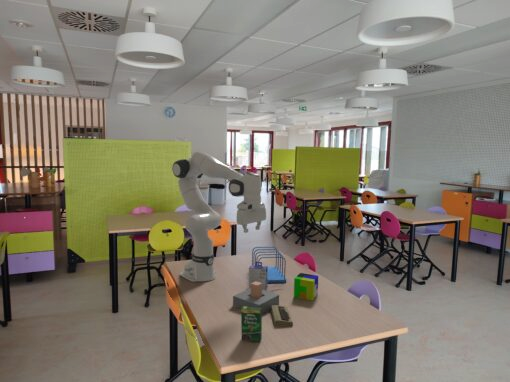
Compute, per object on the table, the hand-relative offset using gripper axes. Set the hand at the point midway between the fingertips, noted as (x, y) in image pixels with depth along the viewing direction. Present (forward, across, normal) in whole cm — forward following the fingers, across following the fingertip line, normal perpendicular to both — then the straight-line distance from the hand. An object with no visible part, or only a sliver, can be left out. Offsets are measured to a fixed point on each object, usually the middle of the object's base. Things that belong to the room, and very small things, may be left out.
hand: (251, 231), depth 184 cm
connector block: (+33, +8, +10) cm, 35 cm away
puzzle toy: (+34, -19, +22) cm, 45 cm away
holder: (+34, +8, +10) cm, 36 cm away
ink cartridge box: (+34, -10, -3) cm, 36 cm away
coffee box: (+34, +35, +29) cm, 57 cm away
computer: (+35, +11, +27) cm, 45 cm away
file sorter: (+34, -30, -11) cm, 47 cm away
